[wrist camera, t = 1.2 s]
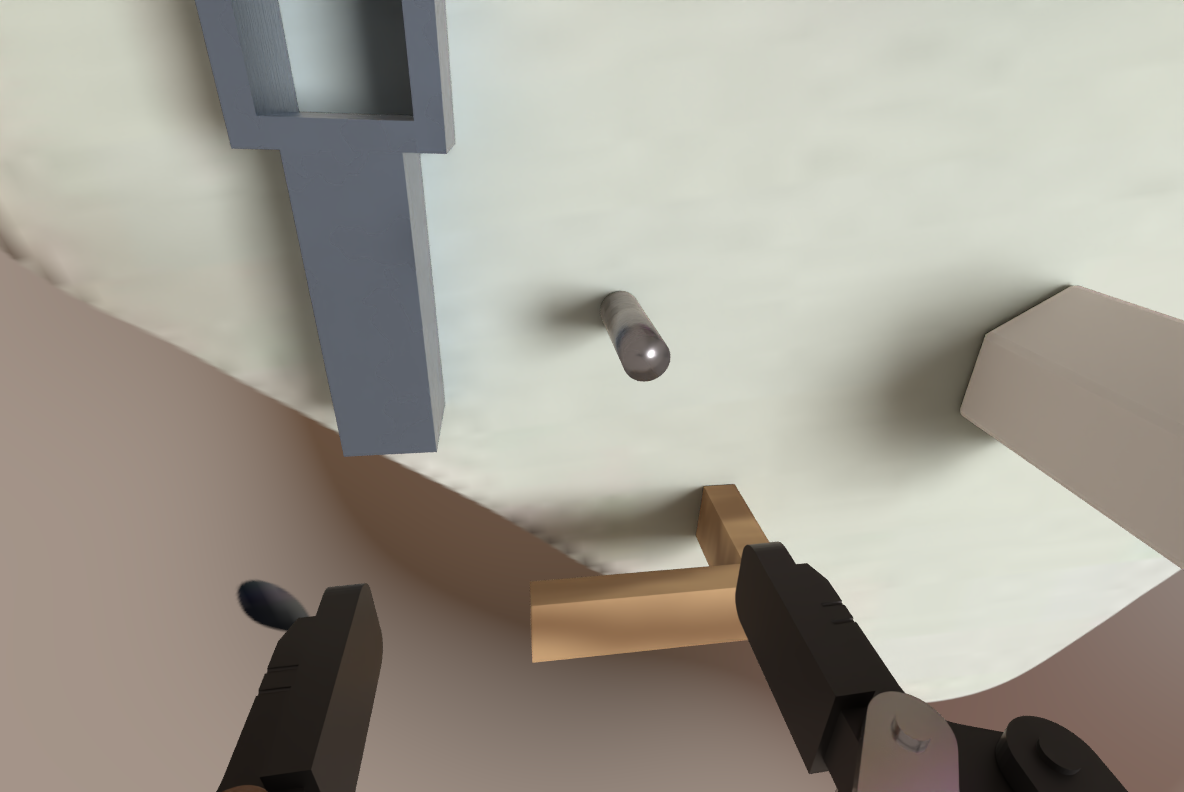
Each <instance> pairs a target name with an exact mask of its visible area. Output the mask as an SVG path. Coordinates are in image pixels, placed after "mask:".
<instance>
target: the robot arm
mask: <svg viewBox="0 0 1184 792" xmlns="http://www.w3.org/2000/svg"><path fill="white" fill-rule="evenodd" d="M735 604H736V610H737V614H738V618H739V621H740V623H741V625H742V628H743V630H744V632H745V634H746V636H747V639H748V641H749V643H750V645H751V647H752V649H753V651H754V654H755V656H756V658H757V660H758V663H759V665H760V667H761V669H762V671H763V674H764V676H765V678H766V680H767V682H768V685H769V687H770V689H771V691H772V693H773V696H774V698H775V700H776V702H777V704H778V706H779V709H780V711H781V713H782V715H783V718H784V720H785V722H786V724H787V726H788V729H789V730H790V733H791V735H792V737H793V740H794V742H795V744H796V746H797V748H798V750H799V753H800V755H801V757H802V759H803V762H804V764H805V766H806V768H807V770H808V773H809V774H813V773H819V772H825V771H829V772H830V774H831V776H832V778H833V781H834V783H835V785H836V790H835V792H1128V791H1127V790H1126V789H1125V788H1124V787H1123V786H1122V784H1121V783H1120V782H1119V781H1118V779H1117V778H1116V777H1115V776H1114V775H1113V773H1112V772H1111V771H1110V770H1109V769H1108V768H1107V766H1106V765H1105V764H1104V763H1103V762H1102V760H1101V759H1100V758H1099V757H1098V756H1097V754H1096V753H1095V752H1094V751H1093V750H1092V749H1091V748H1090V747H1089V746H1088V745H1087V744H1086V743H1085V742H1084V741H1082V740H1081V739H1080V738H1079V737H1077V736H1076V735H1075V734H1074V733H1072V732H1070V731H1069V730H1067V729H1066V728H1064V727H1062V726H1060V725H1059V724H1057V723H1054V722H1052V721H1049V720H1047V719H1044V718H1040V717H1034V716H1021V717H1017V718H1015V719H1013V720H1012V721H1011V722H1010V723H1009V724H1008V726H1007V728H1006V729H1005V731H1004V732H999V731H994V730H988V729H983V728H977V727H972V726H966V725H961V724H957V723H952V722H949V721H946V720H945V719H944V718H943V717H942V716H941V715H940V714H939V713H938V712H937V711H936V710H935V709H933V708H932V707H931V706H930V705H928V704H927V703H925V702H924V701H922V700H920V699H918V698H916V697H914V696H912V695H909V694H906V693H905V692H904V691H903V690H902V689H901V687H900V686H899V685H898V683H897V682H896V680H895V679H894V677H893V676H892V674H891V673H890V671H889V670H888V668H887V667H886V666H885V664H884V663H883V661H882V660H881V658H880V657H879V655H878V654H877V652H876V651H875V649H874V648H873V646H872V645H871V643H870V642H869V640H868V639H867V637H866V636H865V634H864V633H863V631H862V630H861V628H860V627H859V625H858V624H857V623H856V622H854V621H853V617H852V615H851V614H850V612H849V611H848V609H847V608H846V606H845V605H843V604H842V600H841V599H840V597H839V596H838V594H837V593H836V591H835V590H834V588H833V587H832V585H831V584H830V583H829V581H828V580H827V579H826V578H825V577H823V576H822V575H821V574H820V573H818V572H817V571H816V570H815V569H814V568H812V567H811V566H810V565H809V564H807V563H805V564H795V562H794V560H793V559H792V557H791V556H790V554H789V552H788V551H787V549H786V548H785V546H784V545H783V544H782V543H781V542H769V543H760V544H750V545H746V546H745V547H744V549H743V552H742V558H741V563H740V569H739V575H738V580H737V586H736V592H735ZM382 653H383V642H382V633H381V629H380V625H379V621H378V617H377V613H376V609H375V605H374V601H373V598H372V594H371V590H370V587H369V585H368V584H367V583H364V584H355V585H345V586H335V587H328V588H327V589H326V590H325V592H324V595H323V597H322V600H321V602H320V605H319V608H318V611H317V614H316V616H312V617H303V618H298V619H297V620H296V621H295V622H294V624H293V625H292V626H291V627H290V628H289V630H288V631H287V632H286V633H285V634H284V635H283V637H282V638H281V639H280V640H279V641H278V643H277V646H276V648H275V650H274V653H273V655H272V658H271V661H270V663H269V665H268V668H267V669H268V671H267V673H266V674H265V675H264V678H263V680H262V683H261V685H260V688H259V694H258V696H256V698H255V700H254V703H253V705H252V708H251V710H250V713H249V715H248V717H247V720H246V722H245V725H244V728H243V730H242V732H241V735H240V737H239V740H238V742H237V745H236V747H235V750H234V752H233V755H232V757H231V760H230V762H229V765H228V767H227V770H226V772H225V775H224V777H223V780H222V782H221V784H220V786H219V788H218V790H217V791H216V792H355V790H356V785H357V780H358V776H359V771H360V765H361V761H362V756H363V751H364V746H365V742H366V736H367V732H368V727H369V722H370V717H371V713H372V708H373V703H374V698H375V692H376V688H377V683H378V678H379V674H380V669H381V663H382Z"/></svg>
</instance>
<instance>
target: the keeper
mask: <svg viewBox="0 0 1184 792" xmlns="http://www.w3.org/2000/svg"><path fill="white" fill-rule="evenodd" d="M696 537H697V540H698V542H699V544H700V546H701V549H702V551H703V553H704V555H705V558H706V560H707V562H708V564H709V566H708V567H696V568H684V569H673V570H661V571H649V572H637V573H625V574H613V575H602V576H590V577H579V578H567V579H554V580H543V581H532V582H530V605H531V606H530V608H531V643H532V659H533V662H543V661H551V660H560V659H571V658H580V657H590V656H599V655H609V654H618V653H628V652H637V651H646V650H656V649H666V648H675V647H685V646H694V645H704V644H713V643H721V642H731V641H741V640H748V639H747V636H746V634H745V632H744V630H743V628H742V625H741V623H740V621H739V618H738V614H737V610H736V604H735V592H736V586H737V580H738V575H739V569H740V563H741V558H742V552H743V549H744V547H745V546H746V545H750V544H760V543H769V541H768V539H767V537H766V536H765V534H764V532H763V531H762V529H761V527H760V526H759V524H758V522H757V521H756V519H755V517H754V516H753V514H752V512H751V511H750V509H749V507H748V506H747V504H746V502H745V501H744V499H743V497H742V496H741V494H740V492H739V491H738V489H737V487H736V486H735V484H732V485H716V486H704V488H703V494H702V500H701V507H700V513H699V519H698V525H697V531H696Z"/></svg>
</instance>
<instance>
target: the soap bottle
mask: <svg viewBox="0 0 1184 792" xmlns="http://www.w3.org/2000/svg"><path fill="white" fill-rule="evenodd" d="M960 412H961V415H962V416H963V417H965V418H966V419H968V420H969V421H970V422H972V423H973V424H975V425H976V426H978V427H979V428H980V429H982V430H983V431H985V432H986V433H988V434H989V435H991V436H992V437H993V438H995V439H996V440H998V441H999V442H1001V443H1002V444H1003V445H1005V446H1006V447H1008V448H1009V449H1011V450H1012V451H1013V452H1015V453H1016V454H1018V455H1019V456H1021V457H1022V458H1023V459H1025V460H1026V461H1028V462H1029V463H1031V464H1032V465H1034V466H1035V467H1036V468H1038V469H1039V470H1041V471H1042V472H1044V473H1045V474H1046V475H1048V476H1049V477H1051V478H1052V479H1054V480H1055V481H1056V482H1058V483H1059V484H1061V485H1062V486H1064V487H1065V488H1066V489H1068V490H1069V491H1071V492H1072V493H1074V494H1075V495H1077V496H1078V497H1079V498H1081V499H1082V500H1084V501H1085V502H1087V503H1088V504H1089V505H1091V506H1092V507H1094V508H1095V509H1097V510H1098V511H1099V512H1101V513H1102V514H1104V515H1105V516H1107V517H1108V518H1109V519H1111V520H1112V521H1114V522H1115V523H1117V524H1118V525H1120V526H1121V527H1122V528H1124V529H1125V530H1127V531H1128V532H1130V533H1131V534H1132V535H1134V536H1135V537H1137V538H1138V539H1140V540H1141V541H1142V542H1144V543H1145V544H1147V545H1148V546H1150V547H1151V548H1152V549H1154V550H1155V551H1157V552H1158V553H1160V554H1161V555H1163V556H1164V557H1165V558H1167V559H1168V560H1170V561H1171V562H1173V563H1174V564H1175V565H1177V566H1178V567H1180V568H1181V569H1183V570H1184V321H1183V320H1180V319H1177V318H1174V317H1171V316H1168V315H1165V314H1162V313H1159V312H1156V311H1153V310H1150V309H1147V308H1144V307H1141V306H1138V305H1135V304H1132V303H1129V302H1126V301H1123V300H1120V299H1117V298H1114V297H1111V296H1108V295H1105V294H1102V293H1099V292H1096V291H1093V290H1090V289H1087V288H1084V287H1081V286H1070V287H1068V288H1067V289H1065V290H1063V291H1061V292H1059V293H1058V294H1056V295H1054V296H1052V297H1051V298H1049V299H1047V300H1045V301H1044V302H1042V303H1040V304H1038V305H1036V306H1035V307H1033V308H1031V309H1029V310H1028V311H1026V312H1024V313H1022V314H1020V315H1019V316H1017V317H1015V318H1013V319H1012V320H1010V321H1008V322H1006V323H1004V324H1003V325H1001V326H999V327H997V328H996V329H994V330H992V331H990V332H989V333H987V334H985V337H984V340H983V343H982V346H981V349H980V352H979V355H978V358H977V361H976V364H975V367H974V370H973V373H972V376H971V379H970V382H969V385H968V387H967V390H966V393H965V396H964V399H963V402H962V405H961V408H960Z"/></svg>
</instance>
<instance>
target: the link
mask: <svg viewBox="0 0 1184 792" xmlns="http://www.w3.org/2000/svg"><path fill="white" fill-rule="evenodd" d="M195 2H196V7H197V11H198V15H199V19H200V23H201V27H202V31H203V35H204V39H205V43H206V47H207V51H208V55H209V59H210V63H211V67H212V71H213V75H214V79H215V83H216V88H217V92H218V96H219V100H220V104H221V108H222V112H223V116H224V120H225V124H226V128H227V132H228V136H229V140H230V144H231V148H234V149H275V150H280V154H281V159H282V163H283V168H284V173H285V178H286V183H287V187H288V192H289V197H290V202H291V206H292V211H293V216H294V221H295V225H296V230H297V235H298V240H299V244H300V249H301V254H302V259H303V264H304V268H305V273H306V278H307V283H308V287H309V292H310V297H311V302H312V306H313V311H314V316H315V321H316V325H317V330H318V335H319V340H320V345H321V349H322V354H323V359H324V364H325V368H326V373H327V378H328V383H329V387H330V392H331V397H332V402H333V406H334V411H335V416H336V421H337V426H338V430H339V435H340V440H341V444H342V449H343V454H344V456H363V455H384V454H404V453H424V452H437V448H438V442H439V436H440V430H441V425H442V419H443V413H444V407H445V398H444V388H443V378H442V368H441V358H440V348H439V338H438V329H437V319H436V309H435V299H434V289H433V279H432V269H431V259H430V249H429V240H428V230H427V220H426V210H425V200H424V190H423V180H422V170H421V161H420V153H436V154H447V153H448V152H449V150H450V149H451V148H452V147H453V146H454V145H455V131H454V117H453V104H452V90H451V76H450V62H449V49H448V35H447V21H446V8H445V0H402V9H403V19H404V28H405V38H406V48H407V58H408V67H409V77H410V87H411V96H412V106H413V116H406V115H377V114H347V113H318V112H299V109H298V104H297V98H296V93H295V88H294V83H293V77H292V72H291V67H290V61H289V56H288V51H287V46H286V40H285V35H284V30H283V24H282V19H281V14H280V9H279V3H278V0H195Z"/></svg>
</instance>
